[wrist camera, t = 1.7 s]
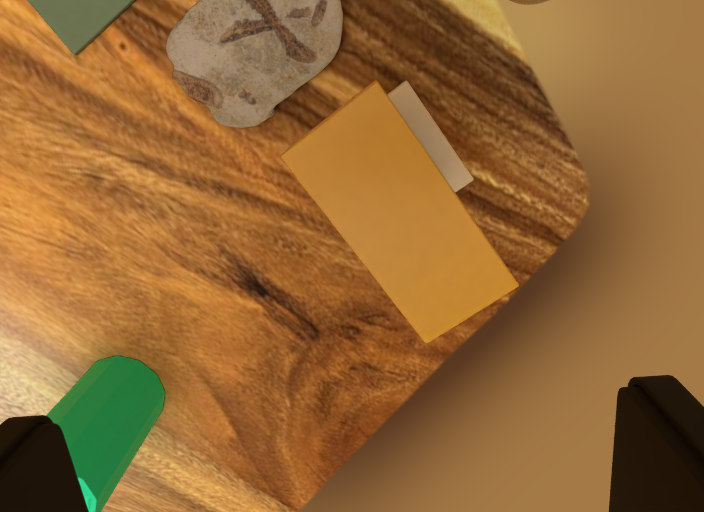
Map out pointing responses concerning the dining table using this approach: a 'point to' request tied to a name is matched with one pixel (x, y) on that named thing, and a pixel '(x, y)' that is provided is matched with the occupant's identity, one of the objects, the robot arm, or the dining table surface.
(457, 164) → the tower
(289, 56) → the stone
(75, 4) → the mat
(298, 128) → the dining table surface
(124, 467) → the candle
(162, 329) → the dining table surface
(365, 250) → the bar
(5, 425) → the robot arm
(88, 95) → the dining table surface
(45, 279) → the dining table surface
